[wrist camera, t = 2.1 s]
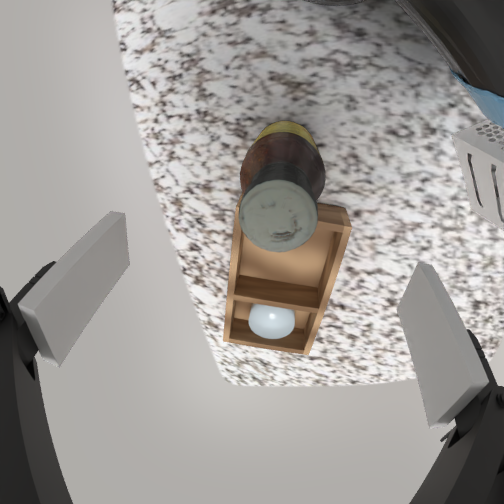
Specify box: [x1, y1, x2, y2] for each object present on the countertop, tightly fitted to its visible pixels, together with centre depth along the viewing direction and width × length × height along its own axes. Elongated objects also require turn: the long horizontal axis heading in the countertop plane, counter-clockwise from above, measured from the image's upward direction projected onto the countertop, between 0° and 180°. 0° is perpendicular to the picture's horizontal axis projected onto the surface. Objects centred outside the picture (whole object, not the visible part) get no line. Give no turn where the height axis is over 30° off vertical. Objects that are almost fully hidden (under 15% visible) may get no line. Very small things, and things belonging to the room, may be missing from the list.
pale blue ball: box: [249, 303, 295, 339], centre depth 42 cm, size 6×6×4 cm
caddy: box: [223, 192, 352, 355], centre depth 39 cm, size 20×12×5 cm, turn 173°
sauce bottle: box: [238, 121, 325, 252], centre depth 24 cm, size 7×6×20 cm
